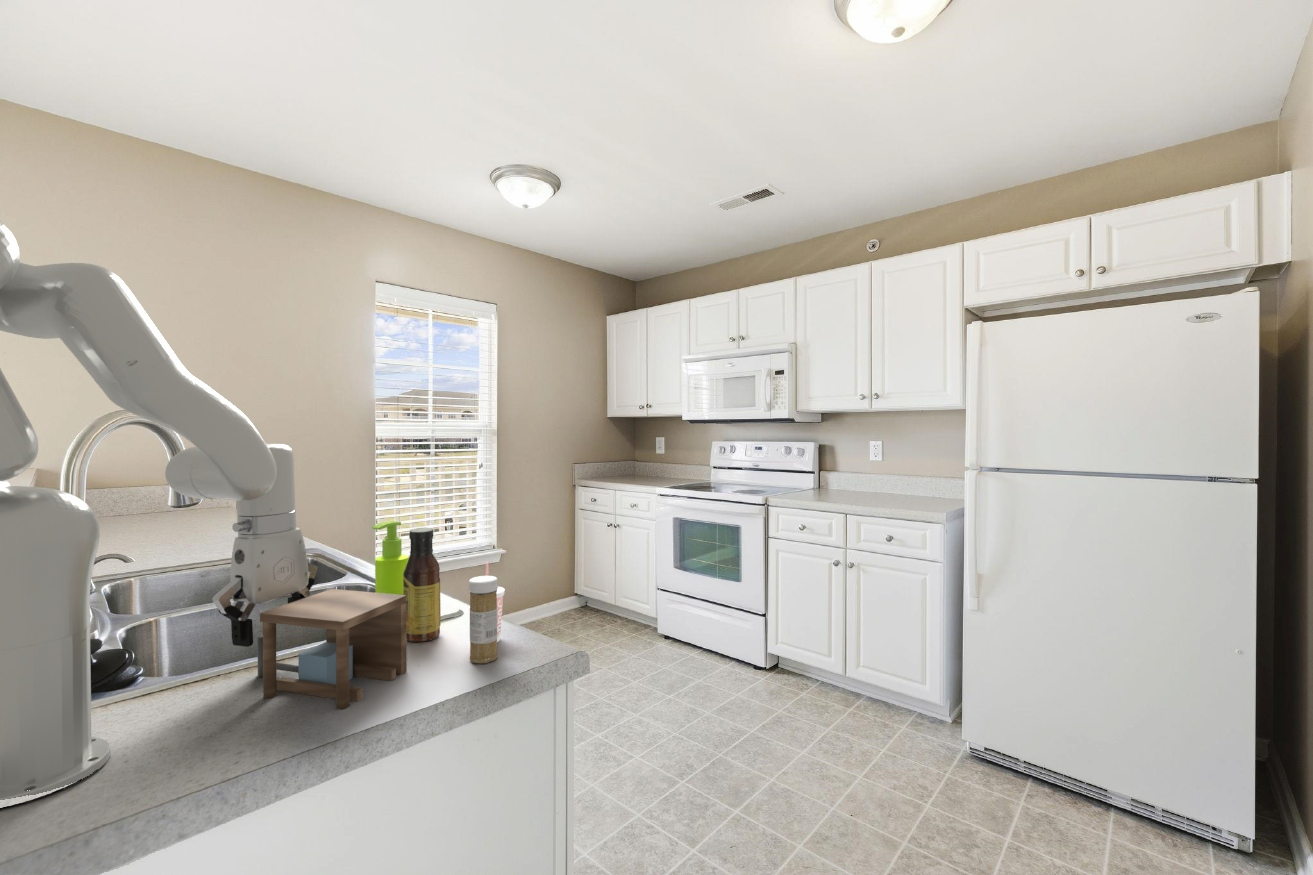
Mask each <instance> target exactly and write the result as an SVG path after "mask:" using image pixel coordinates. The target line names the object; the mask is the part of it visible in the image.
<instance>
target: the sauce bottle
mask: <svg viewBox="0 0 1313 875" xmlns="http://www.w3.org/2000/svg"><path fill="white" fill-rule="evenodd" d="M408 536H409V539H410V551H409V555H408V557H409V559H408V562H407V565H406V568H405V570H404V573H403V595H406V641H408V642H414V643H419V642H421V643H422V642H429V641H432V640H434V639H436V638H438V637H439V636H440V634H441V618H442V617H441V615H442V614H441V578H440V564H439V561H438V560H437V558H436V557H435V556H434V554H433V553H434V552H433V551H434V549H433V538H434V528H431V527H417V528H412V529H410V530H409V534H408Z"/></svg>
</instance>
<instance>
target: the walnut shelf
mask: <svg viewBox="0 0 1313 875" xmlns="http://www.w3.org/2000/svg"><path fill="white" fill-rule="evenodd" d="M259 622H260V623H262V635H263V678H262V697H263V699H265V700H266V699H271V698H275V697H276V696H277V695H278V694H277V693H278V691H281V692H285V693H286V692H287V693H294V694H301V695H308V696H316V697H322V698H331V699H335V701H336V702H335V706H336V710H344V709H347V708H349V707H350V702H356V703H357V702H358V701H360V700H362V699H363V687H359V686H350V679H349V645H353V677H359V678H366V679H367V678H368V679H374V680H383V681H391V682H392V681H393V680H395V679H396V678H397V676H396V675H403V674H405V673H406V672H407V666H408V665H407V661H408V658H407V652H408V651H407V650H408V649H407V639H406V595H397V594H385V593H375V592H374V591H373V592H371V591H361V590H351V589H350V590H348V589H347V590H346V589H339V588H330V589H327V590H324V591H322V592H319V593H316V594H312V595H309V596H308V597H306V598H303V599H300V600H298V601H295V602H292V603H289V604H288V603H286V604H283V605H281V606H277V607H274V608H271V609H268V610H265V611H262V612H259ZM278 624H279V625H286V626H287V625H288V626H294V627H295V626H296V627H305V628H306V627H307V628H315V629H324V630H325V631H326V632H325V633H326V634H325V638H326V639H325V640H326V641H325V642H329V643H336V684H329V683H322V682H315V681H307V680H300V679H299V678H290V677H283V676H281V677H279V678H277V672H278V670H276V663H277V625H278ZM407 673H408V672H407Z"/></svg>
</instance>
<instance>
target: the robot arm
mask: <svg viewBox="0 0 1313 875" xmlns="http://www.w3.org/2000/svg"><path fill="white" fill-rule="evenodd" d="M20 260H21V255H20V247H19V245H18V242H17V239H16V238H15V235H14V234H13V232H12V231H11V230H10V229H9V228H8V226H6V225H5V224H4V223H3V222H2V221H1V220H0V331H1V332H5V333H9V334H13V335H17V336H22V337H28V338H35V339H43V340H44V339H45V340H48V339H60V341H62V343H63V344H64V345H65V347H66V348H67V350H69V351H70V352H71V353H72V355H73V356H74V357H75V358H76V359H77V361H78V362H79V363H80V364H81V366H83V368H84V370H86V372H87V373H88V374H89V375H90V377H91V378H92V379H93V380H94V382H95V383H96V384H97V385H98V387H99V388H100V389H101V391H102V392H103V393H104V394H105V396H106V397H107V398H108V399H109V401H111V403H113V404H114V405H116V406H118V407H119V408H121V409H123V410H125V411H127V412H128V413H131V414H132V415H135V416H138V417H140V418H143V419H145V420H147V421H151V422H153V423H155V424H158V425H161V426H163V427H165V428H167V429H169V430H171V431H173V432H175V433H176V434H178V435H180V436H182V437H184V438H185V439H186V440H187V441H188V442H190V443H191V444H193V445H194V446H191V447H188V448H185V449H183V450H181V451H179V452H178V453H175V454H174V455H173V457H170V458H171V459H170V460H169V461H168V463H167V465H166V467H165V472H164V475H165V480H166V482H167V485H169V486H170V488H171V489H172V490H173V491H175V492H176V493H178V494H180V495H182V496H184V497H187V498H192V499H200V500H202V499H203V500H229V501H230V500H231V501H236V515H237V516H236V518H237V520H236V521H237V522H234V523H233V524H232V530H233V531H234V532H235V533H237V536H236V537H234V542H233V546H232V555H231V560H230V561H231V562H230V582H229V583H227V584H226V585H225V586H224V587H223V588H222V589H220V590H219V591H218V592H217V593H216V594H214V596H213V597H212V602H213V604H214V605H215V606H216V608H217V609H218V612H219V614H221V615H222V616H223V617H225V618H226V620H228V621H230V626H231V640H232V641H231V642H232V645H233V646H238V647H246V648H249V647H251V646H253V644H254V631H253V630H254V629H253V628H254V627H253V619H252V618H249V617H250V616H251V613H252V612H253V610H254V608H255V607H256V605H263V604H266V603H270V602H273V601H275V600H278V599H281V598H284V597H286V596H287V604H289V603H292V602H295V601H298V600H300V599H303V598H306V597H309V596H311V595H310V594H311V589H312V587H313V586H314V583H315V578H316V574H317V572H318V569H319V568H318V565H315V564H312V563H309V562H308V556H307V549H306V545H305V540H304V536H303V533H302V530H301V527H297V517H296V515H297V513H296V490H295V486H296V484H295V465H294V464H295V463H294V460H295V459H294V452H293V449H292V447H290V446H289V445H288V444H285V443H266V441H265V440H264V438H263V437H262V435H261V434H260V432H259V431H258V428H256V427H255V425H254V424H253V423H252V421H251V420H250V419H249V418H248V417H247V416H246V415H245V414H244V413H243V412H242V411H241V410H240V409H239V408H237V406H235V405H233V403H231V402H230V401H228V400H227V399H226V398H224V397H223V396H222V395H221V394H219V393H218V392H217V391H215V390H214V389H213V388H211V387H210V386H208V384H206V383H204V382H203V381H202V380H200V379H198V378H197V377H196V376H194V375H193V374H191V373H190V372H189V371H188V370H187V368H186V367H185V366H184V365H183V363H182V362H181V361H180V359H179V358H178V356H177V355H176V353H175V351H174V350H173V349H172V348H171V347H170V345H169V343H168V342H167V340H166V339H165V338H164V336H163V335H162V333H161V332H160V330H159V329H158V328H157V326H156V325H155V323H154V322H153V321H152V319H151V318H150V316H149V315H148V313H147V312H146V311H145V310H144V308H143V306H142V305H141V303H140V302H139V301H138V300H137V297H136V296H135V295H134V294H133V292H132V291H131V289H130V288H129V287H128V286H127V284H126V283H125V282H124V280H122V279H121V278H120V277H119V276H118V275H117V274H115V273H114V272H113V271H111V270H109V269H107V268H105V267H102V266H100V265H97V264H92V263H85V262H63V263H52V264H51V263H50V264H44V265H43V264H42V265H31V264H27V263H23V262H20ZM38 453H39V439H38V436H37V433H36V431H35V429H34V427H33V425H32V423H31V421H30V419H29V418H28V416H27V414H26V412H25V411H24V409H23V407H22V405H21V404H20V401H19V400H18V398H17V396H16V394H15V392H14V391H13V389H12V387H11V385H10V383H9V382H8V380H7V378H6V376H5V374H4V373H3V371H2V368H0V800H5V799H11V798H16V797H22V796H26V795H28V796H29V795H36V794H39V793H43V792H47V791H51V790H53V789H56V788H60V787H64V786H65V785H69V784H71V783H74V782H76V781H78V780H80V779H82V780H84V779H86V778H88V777H90V776H91V775H93V774H94V773H95V772H96V771H95V770H97V769H98V770H99V769H100V768H102V767H103V766H104V765H105V764H106V763H107V762H108V760H109V758H110V755H111V745H110V742H109V741H107V740H106V739H103V738H100V737H94V736H92V687H91V686H92V684H91V683H92V680H91V675H92V674H91V673H92V672H91V670H92V669H91V611H90V610H91V607H90V605H91V603H90V602H91V585H92V575H93V570H94V565H95V561H96V556H97V552H98V548H99V542H100V524H99V520H98V517H97V515H96V513H95V512H94V511H93V509H92V508H91V507H90V505H89V504H88V503H86V502H85V501H84V500H82V499H81V498H79V497H78V496H76V495H74V494H71V492H70V493H69V492H66V491H62V490H59V489H55V488H50V487H41V486H38V487H37V486H26V485H25V486H23V485H22V486H21V485H12V484H11V483H10V481H9V480H10V479H13V478H16V477H18V476H19V475H21V474H23V473H25V471H27V470H28V469H29V468H30V467H31V466H32V465H33V463H34V462H35V461H36V459H37V457H38ZM231 598H232V601H233V602H231ZM98 770H97V771H98ZM94 771H95V772H94ZM93 772H94V773H93ZM90 774H91V775H90ZM87 776H88V777H87ZM85 777H86V778H85ZM83 778H84V779H83ZM27 790H28V791H27ZM29 790H30V791H29Z"/></svg>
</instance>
